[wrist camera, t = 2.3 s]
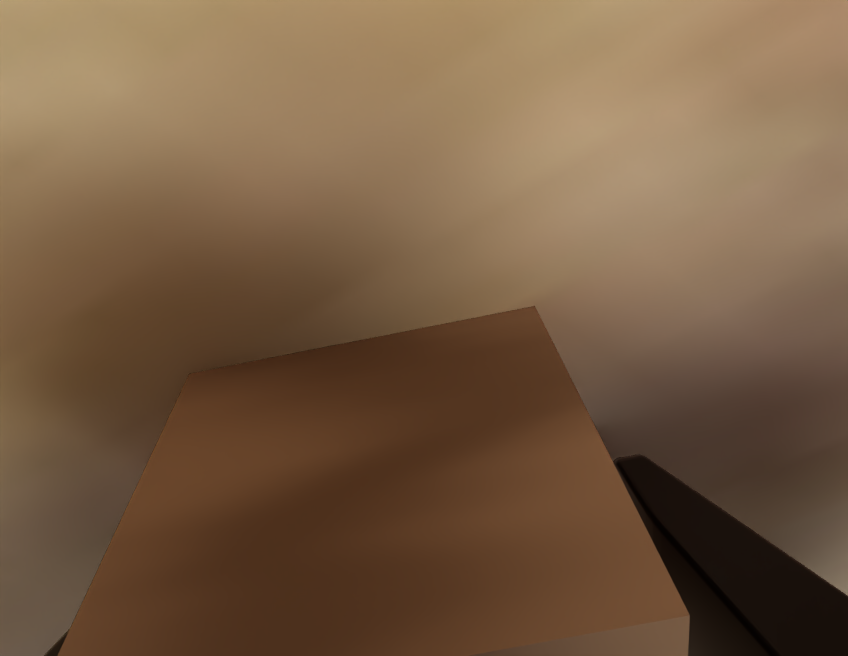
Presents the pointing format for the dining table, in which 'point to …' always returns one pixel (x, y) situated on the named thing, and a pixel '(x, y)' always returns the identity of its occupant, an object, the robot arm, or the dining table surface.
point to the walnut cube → (384, 512)
